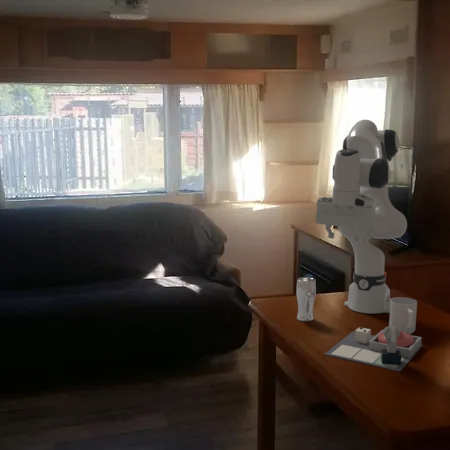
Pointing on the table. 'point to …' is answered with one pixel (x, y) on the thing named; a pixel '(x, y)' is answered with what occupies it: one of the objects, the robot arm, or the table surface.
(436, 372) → the table surface
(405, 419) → the table surface
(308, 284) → the beer glass
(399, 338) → the dome
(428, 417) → the table surface
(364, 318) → the table surface
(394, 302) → the mug
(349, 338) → the game board
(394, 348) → the watch
